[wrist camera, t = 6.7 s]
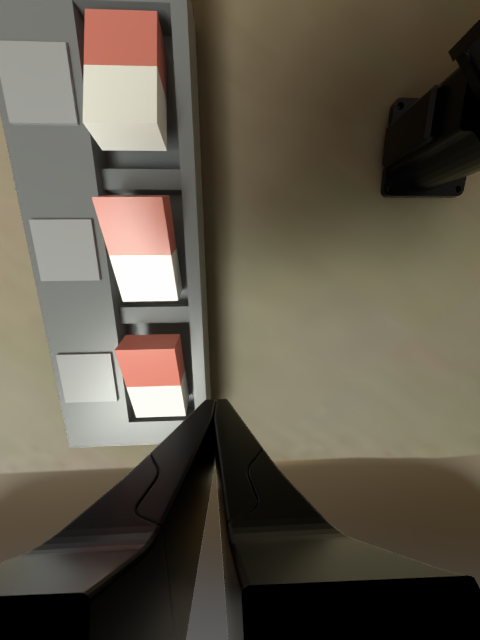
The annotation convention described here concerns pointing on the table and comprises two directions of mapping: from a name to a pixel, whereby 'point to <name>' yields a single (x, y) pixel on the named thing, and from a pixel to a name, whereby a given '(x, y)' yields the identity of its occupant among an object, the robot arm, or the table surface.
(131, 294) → the block
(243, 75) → the table surface
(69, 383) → the power board
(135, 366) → the rocker
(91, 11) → the rocker
